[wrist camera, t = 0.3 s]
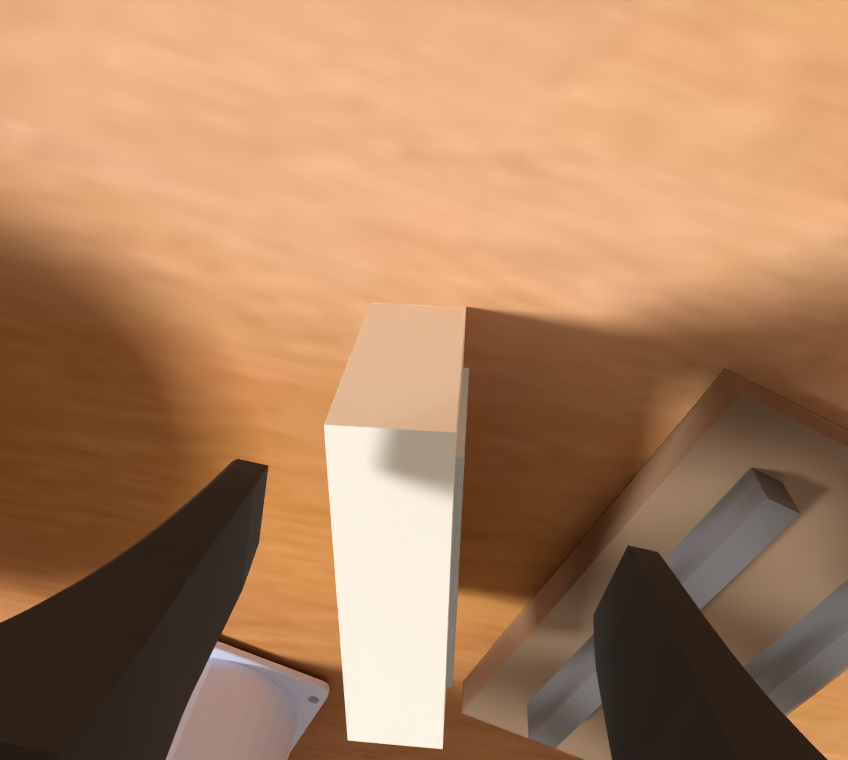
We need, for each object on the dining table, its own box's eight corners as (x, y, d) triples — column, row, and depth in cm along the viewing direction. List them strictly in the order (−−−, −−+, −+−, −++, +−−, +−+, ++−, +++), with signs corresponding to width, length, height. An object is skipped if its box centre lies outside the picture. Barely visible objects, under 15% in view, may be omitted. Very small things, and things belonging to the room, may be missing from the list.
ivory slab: (458, 580, 27) (448, 749, 21) (379, 574, 28) (347, 740, 22) (472, 305, 21) (464, 433, 15) (371, 301, 22) (324, 424, 16)
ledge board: (672, 763, 32) (688, 832, 29) (462, 681, 30) (460, 747, 28) (995, 503, 23) (1058, 568, 21) (724, 368, 22) (756, 421, 19)
